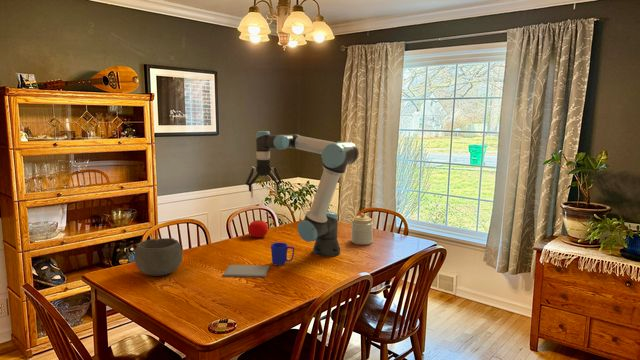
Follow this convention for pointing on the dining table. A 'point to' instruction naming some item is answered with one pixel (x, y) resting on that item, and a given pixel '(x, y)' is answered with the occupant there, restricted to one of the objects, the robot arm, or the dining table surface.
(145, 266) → the bowl
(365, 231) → the jar
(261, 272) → the plate
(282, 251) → the mug
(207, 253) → the dining table surface
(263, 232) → the tomato
